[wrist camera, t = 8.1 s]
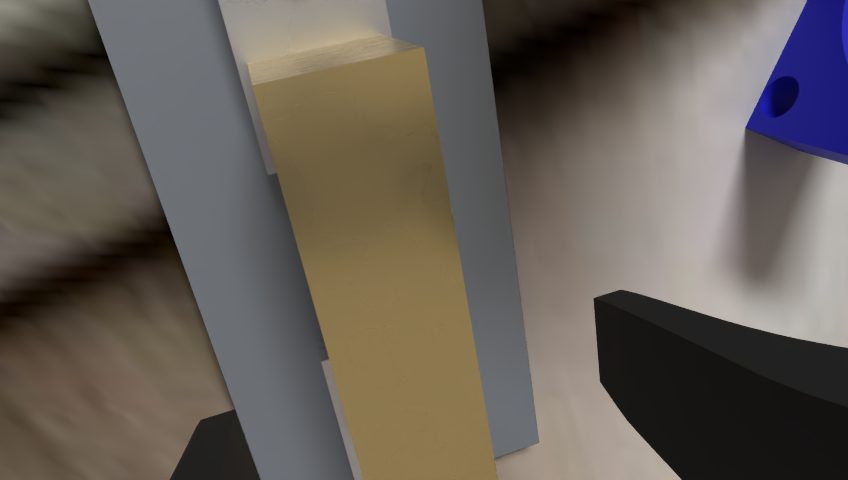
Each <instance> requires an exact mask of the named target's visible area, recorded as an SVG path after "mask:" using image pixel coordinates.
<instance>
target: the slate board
mask: <svg viewBox="0 0 848 480" xmlns="http://www.w3.org/2000/svg"><path fill="white" fill-rule="evenodd" d="M385 1H386V6H387V12H388V17H389V22H390V28H391V33H392V38H396V39H399V40H402V41H405V42H409V43H412V44H415V45H419V46H422V47H424V50H425V56H426V62H427V68H428V74H429V80H430V85H431V91H432V97H433V103H434V109H435V115H436V120H437V126H438V132H439V138H440V144H441V150H442V155H443V161H444V167H445V173H446V179H447V185H448V191H449V196H450V202H451V208H452V214H453V220H454V226H455V231H456V237H457V243H458V249H459V255H460V261H461V266H462V272H463V278H464V284H465V290H466V296H467V302H468V307H469V313H470V319H471V325H472V331H473V337H474V342H475V348H476V354H477V360H478V366H479V372H480V377H481V383H482V389H483V395H484V401H485V407H486V412H487V418H488V424H489V430H490V436H491V442H492V448H493V453H494V458H497V457H500V456H502V455H505V454H508V453H511V452H514V451H517V450H520V449H522V448H525V447H528V446H531V445H534V444H537V443H539V437H538V430H537V422H536V414H535V406H534V399H533V391H532V383H531V375H530V368H529V360H528V352H527V345H526V337H525V329H524V321H523V314H522V306H521V298H520V290H519V283H518V275H517V267H516V259H515V252H514V244H513V236H512V228H511V221H510V213H509V205H508V197H507V190H506V182H505V174H504V166H503V159H502V151H501V143H500V136H499V128H498V120H497V112H496V105H495V97H494V89H493V81H492V74H491V66H490V58H489V50H488V43H487V35H486V27H485V19H484V12H483V4H482V0H385ZM88 2H89V5H90V7H91V10H92V13H93V16H94V18H95V21H96V24H97V27H98V29H99V32H100V35H101V38H102V41H103V43H104V46H105V49H106V52H107V54H108V57H109V60H110V63H111V66H112V68H113V71H114V74H115V77H116V79H117V82H118V85H119V88H120V90H121V93H122V96H123V99H124V102H125V104H126V107H127V110H128V113H129V115H130V118H131V121H132V124H133V126H134V129H135V132H136V135H137V138H138V140H139V143H140V146H141V149H142V151H143V154H144V157H145V160H146V163H147V165H148V168H149V171H150V174H151V176H152V179H153V182H154V185H155V187H156V190H157V193H158V196H159V199H160V201H161V204H162V207H163V210H164V212H165V215H166V218H167V221H168V223H169V226H170V229H171V232H172V235H173V237H174V240H175V243H176V246H177V248H178V251H179V254H180V257H181V260H182V262H183V265H184V268H185V271H186V273H187V276H188V279H189V282H190V284H191V287H192V290H193V293H194V296H195V298H196V301H197V304H198V307H199V309H200V312H201V315H202V318H203V321H204V323H205V326H206V329H207V332H208V334H209V337H210V340H211V343H212V345H213V348H214V351H215V354H216V357H217V359H218V362H219V365H220V368H221V370H222V373H223V376H224V379H225V381H226V384H227V387H228V390H229V393H230V395H231V398H232V401H233V404H234V406H235V409H236V412H237V415H238V418H239V420H240V423H241V426H242V429H243V431H244V434H245V437H246V440H247V442H248V445H249V448H250V451H251V454H252V456H253V459H254V462H255V465H256V467H257V470H258V473H259V476H260V478H261V480H354V476H353V473H352V469H351V466H350V462H349V459H348V455H347V452H346V448H345V445H344V441H343V438H342V434H341V431H340V427H339V424H338V420H337V417H336V413H335V410H334V406H333V402H332V399H331V395H330V392H329V388H328V385H327V381H326V378H325V374H324V371H323V367H322V364H321V360H320V356H319V352H318V348H317V344H316V342H319V341H323V340H324V338H323V335H322V331H321V328H320V324H319V321H318V317H317V314H316V310H315V307H314V303H313V299H312V296H311V292H310V289H309V285H308V282H307V278H306V275H305V271H304V267H303V264H302V260H301V257H300V253H299V250H298V246H297V243H296V239H295V236H294V232H293V228H292V225H291V221H290V218H289V214H288V211H287V207H286V204H285V200H284V197H283V193H282V189H281V186H280V182H279V179H278V175H277V173H275V174H271V175H268V174H267V170H266V167H265V163H264V160H263V156H262V153H261V149H260V146H259V142H258V139H257V135H256V132H255V128H254V125H253V121H252V118H251V114H250V111H249V107H248V103H247V100H246V96H245V93H244V89H243V86H242V82H241V79H240V75H239V72H238V68H237V65H236V61H235V58H234V54H233V51H232V47H231V44H230V40H229V37H228V33H227V30H226V26H225V23H224V19H223V16H222V12H221V9H220V5H219V1H218V0H88Z"/></svg>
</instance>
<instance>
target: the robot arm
mask: <svg viewBox="0 0 848 480" xmlns="http://www.w3.org/2000/svg"><path fill="white" fill-rule="evenodd" d="M594 309H595V322H596V335H597V348H598V360H599V373H600V382H601V384H602V385H603V386H604V388H605V389H606V391H607V392H608V394H609V395H610V397H611V398H612V400H613V401H614V403H615V404H616V406H617V407H618V408H619V410H620V411H621V412H622V414H623V415H624V417H625V418H626V419H627V421H628V422H629V423H630V424H631V425H632V426H633V427H634V429H635V430H636V431H637V432H638V433H639V434H640V435H641V436H642V437H643V438H644V440H645V441H646V442H647V443H648V444H649V445H650V446H651V447H652V448H653V449H654V450H655V451H656V453H657V454H658V455H659V456H660V457H661V458H662V459H663V460H664V461H665V462H666V463H667V464H668V465H669V466H670V467H671V469H672V470H673V471H674V472H675V473H676V474H677V475H678V476H679V477H680V478H681V479H682V480H848V348H844V347H838V346H832V345H827V344H822V343H816V342H811V341H806V340H801V339H796V338H791V337H786V336H782V335H778V334H774V333H770V332H766V331H762V330H758V329H754V328H750V327H746V326H742V325H739V324H735V323H732V322H728V321H725V320H721V319H718V318H715V317H711V316H708V315H705V314H701V313H698V312H695V311H692V310H689V309H685V308H682V307H679V306H676V305H673V304H670V303H667V302H663V301H660V300H657V299H654V298H650V297H647V296H644V295H640V294H637V293H633V292H629V291H625V290H618V291H615V292H612V293H609V294H605V295H602V296H599V297H596V298H594ZM170 480H260V478H259V475H258V472H257V470H256V467H255V464H254V461H253V459H252V456H251V453H250V450H249V448H248V445H247V442H246V439H245V436H244V434H243V431H242V428H241V425H240V423H239V420H238V417H237V414H236V412H235V410H232V411H228V412H225V413H222V414H219V415H215V416H212V417H209V418H206V419H203V420H201V421H200V422H199V424H198V425H197V427H196V429H195V431H194V433H193V435H192V437H191V439H190V441H189V443H188V445H187V447H186V449H185V451H184V453H183V455H182V457H181V459H180V461H179V463H178V465H177V467H176V469H175V471H174V473H173V475H172V476H171V478H170Z"/></svg>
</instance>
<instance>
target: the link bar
mask: <svg viewBox="0 0 848 480" xmlns="http://www.w3.org/2000/svg"><path fill="white" fill-rule="evenodd" d="M247 66H248V70H249V74H250V78H251V83H252V86H253V90H254V94H255V97H256V101H257V104H258V108H259V111H260V115H261V118H262V122H263V126H264V129H265V133H266V136H267V140H268V143H269V147H270V150H271V154H272V157H273V161H274V165H275V168H276V172H277V175H278V179H279V182H280V186H281V189H282V193H283V197H284V200H285V204H286V207H287V211H288V214H289V218H290V221H291V225H292V228H293V232H294V236H295V239H296V243H297V246H298V250H299V253H300V257H301V260H302V264H303V267H304V271H305V275H306V278H307V282H308V285H309V289H310V292H311V296H312V299H313V303H314V307H315V310H316V314H317V317H318V321H319V324H320V328H321V331H322V335H323V338H324V342H325V346H326V349H327V353H328V356H329V360H330V363H331V367H332V370H333V374H334V378H335V381H336V385H337V388H338V392H339V395H340V399H341V402H342V406H343V409H344V413H345V417H346V420H347V424H348V427H349V431H350V434H351V438H352V441H353V445H354V449H355V452H356V456H357V459H358V463H359V466H360V470H361V473H362V477H363V480H498V477H497V471H496V465H495V459H494V453H493V448H492V442H491V436H490V430H489V424H488V418H487V412H486V407H485V401H484V395H483V389H482V383H481V377H480V372H479V366H478V360H477V354H476V348H475V342H474V337H473V331H472V325H471V319H470V313H469V307H468V302H467V296H466V290H465V284H464V278H463V272H462V266H461V261H460V255H459V249H458V243H457V237H456V231H455V226H454V220H453V214H452V208H451V202H450V196H449V191H448V185H447V179H446V173H445V167H444V161H443V155H442V150H441V144H440V138H439V132H438V126H437V120H436V115H435V109H434V103H433V97H432V91H431V85H430V80H429V74H428V68H427V62H426V56H425V50H424V47H422V46H419V45H415V44H412V43H409V42H405V41H402V40H399V39H396V38H392V37H389V36H386V35H383V34H381V35H377V36H372V37H367V38H363V39H358V40H354V41H349V42H344V43H340V44H335V45H330V46H326V47H321V48H317V49H312V50H307V51H303V52H298V53H293V54H289V55H284V56H280V57H275V58H270V59H266V60H261V61H256V62H252V63H247Z"/></svg>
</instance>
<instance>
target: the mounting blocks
mask: <svg viewBox="0 0 848 480" xmlns="http://www.w3.org/2000/svg"><path fill="white" fill-rule="evenodd" d="M218 1H219V5H220V9H221V12H222V16H223V19H224V23H225V26H226V30H227V33H228V37H229V40H230V44H231V47H232V51H233V54H234V58H235V61H236V65H237V68H238V72H239V75H240V79H241V82H242V86H243V89H244V93H245V96H246V100H247V103H248V107H249V111H250V114H251V118H252V121H253V125H254V128H255V132H256V135H257V139H258V142H259V146H260V149H261V153H262V156H263V160H264V163H265V167H266V170H267V174H268V175H271V174H275V173H277V172H276V168H275V165H274V161H273V157H272V154H271V150H270V147H269V143H268V140H267V136H266V133H265V129H264V126H263V122H262V118H261V115H260V111H259V108H258V104H257V101H256V97H255V94H254V90H253V86H252V83H251V78H250V74H249V70H248V66H247V63H252V62H256V61H261V60H266V59H270V58H275V57H280V56H284V55H289V54H293V53H298V52H303V51H307V50H312V49H317V48H321V47H326V46H330V45H335V44H340V43H344V42H349V41H354V40H358V39H363V38H367V37H372V36H377V35H381V34H383V35H386V36H389V37H392V33H391V28H390V22H389V17H388V12H387V6H386V1H385V0H218ZM316 344H317V348H318V352H319V356H320V360H321V364H322V367H323V371H324V374H325V378H326V381H327V385H328V388H329V392H330V395H331V399H332V402H333V406H334V410H335V413H336V417H337V420H338V424H339V427H340V431H341V434H342V438H343V441H344V445H345V448H346V452H347V455H348V459H349V462H350V466H351V469H352V473H353V476H354V480H363V477H362V473H361V470H360V466H359V463H358V459H357V456H356V452H355V449H354V445H353V441H352V438H351V434H350V431H349V427H348V424H347V420H346V417H345V413H344V409H343V406H342V402H341V399H340V395H339V392H338V388H337V385H336V381H335V378H334V374H333V370H332V367H331V363H330V360H329V356H328V353H327V349H326V346H325V342H324V340H323V341H319V342H316Z"/></svg>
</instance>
